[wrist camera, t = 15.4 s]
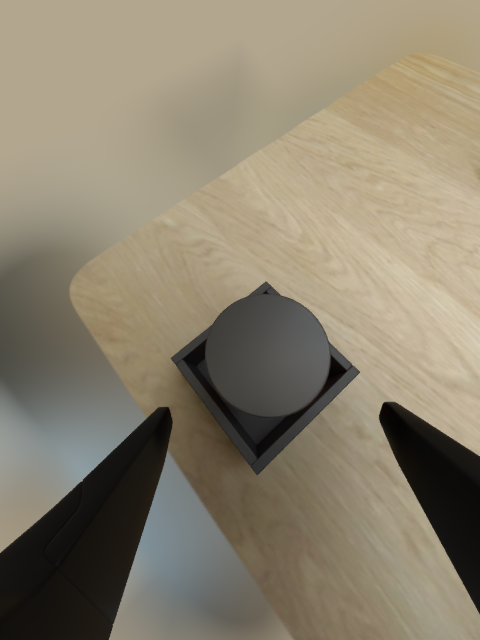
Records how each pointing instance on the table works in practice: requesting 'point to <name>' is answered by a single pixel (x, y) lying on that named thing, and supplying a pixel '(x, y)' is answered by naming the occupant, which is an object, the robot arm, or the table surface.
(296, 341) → the takeaway cup
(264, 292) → the bin
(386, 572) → the table surface
